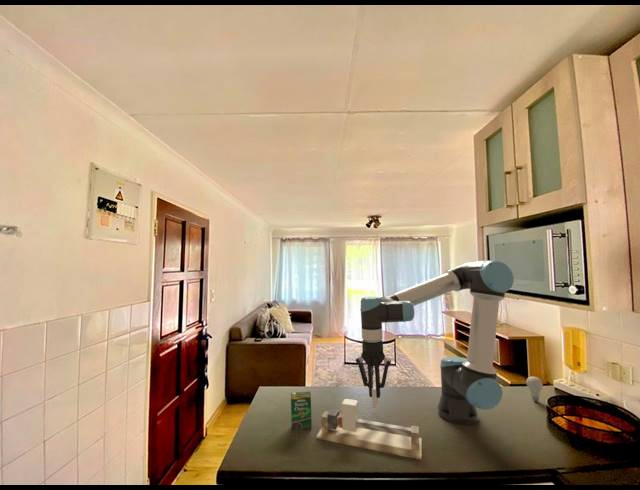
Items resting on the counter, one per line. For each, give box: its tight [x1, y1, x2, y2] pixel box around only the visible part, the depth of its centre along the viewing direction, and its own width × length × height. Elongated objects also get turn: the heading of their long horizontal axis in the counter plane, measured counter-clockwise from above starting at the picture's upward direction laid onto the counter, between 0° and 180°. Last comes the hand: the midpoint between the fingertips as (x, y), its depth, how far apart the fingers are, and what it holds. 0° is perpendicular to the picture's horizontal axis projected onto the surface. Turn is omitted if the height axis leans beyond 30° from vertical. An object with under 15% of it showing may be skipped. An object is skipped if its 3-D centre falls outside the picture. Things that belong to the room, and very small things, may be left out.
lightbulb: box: [525, 376, 544, 402], centre depth 133 cm, size 6×6×11 cm
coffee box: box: [290, 391, 313, 431], centre depth 113 cm, size 8×3×13 cm, turn 93°
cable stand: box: [316, 408, 423, 461], centre depth 105 cm, size 36×11×7 cm, turn 70°
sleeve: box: [341, 398, 359, 432], centre depth 107 cm, size 5×4×9 cm
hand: (375, 406), depth 105 cm, fingers closed
